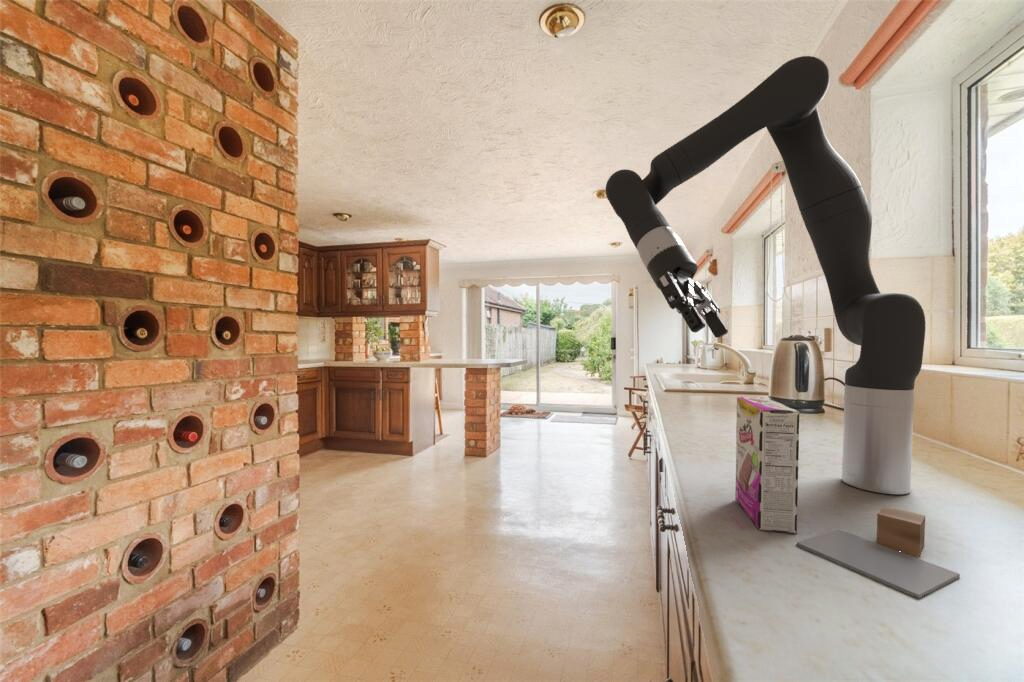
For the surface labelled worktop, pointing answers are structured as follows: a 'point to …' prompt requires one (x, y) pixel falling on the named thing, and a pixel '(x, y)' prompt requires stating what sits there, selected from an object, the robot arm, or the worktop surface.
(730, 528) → the worktop surface
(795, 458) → the candy bar box
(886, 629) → the worktop surface
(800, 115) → the robot arm
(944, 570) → the plate
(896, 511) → the walnut block
